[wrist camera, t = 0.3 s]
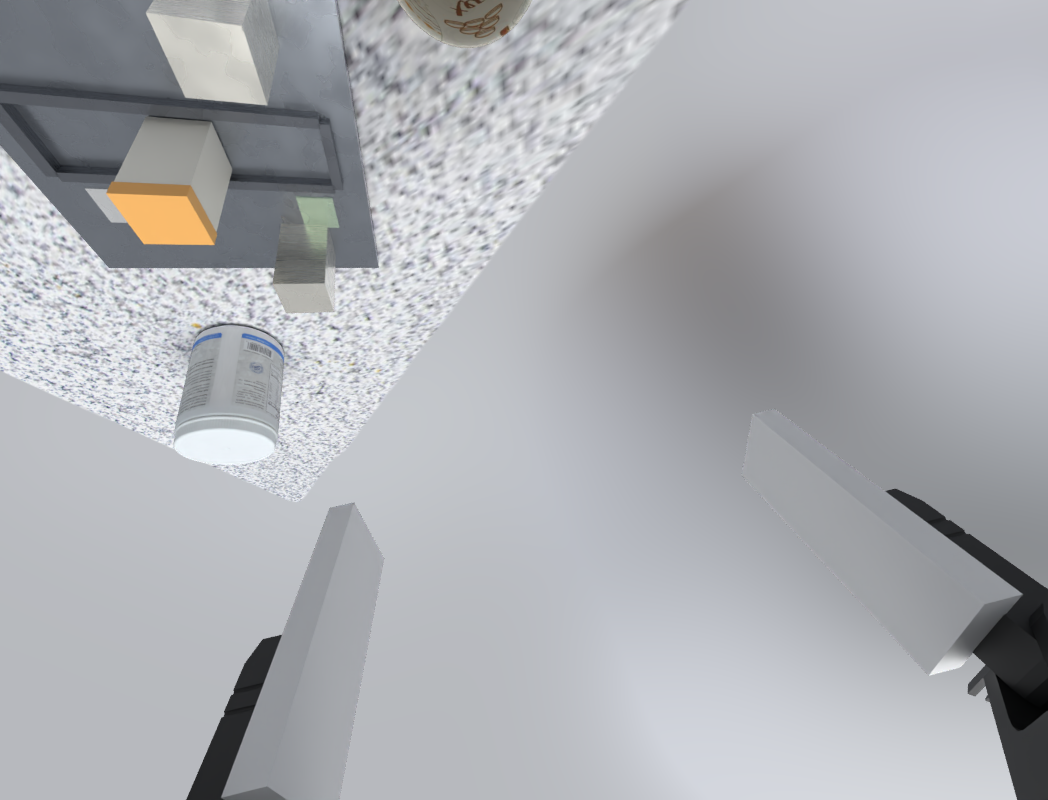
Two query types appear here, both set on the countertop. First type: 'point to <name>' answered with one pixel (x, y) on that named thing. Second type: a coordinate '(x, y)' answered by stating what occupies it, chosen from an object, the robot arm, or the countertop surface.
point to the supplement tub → (231, 397)
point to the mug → (465, 19)
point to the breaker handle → (173, 182)
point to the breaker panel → (203, 95)
